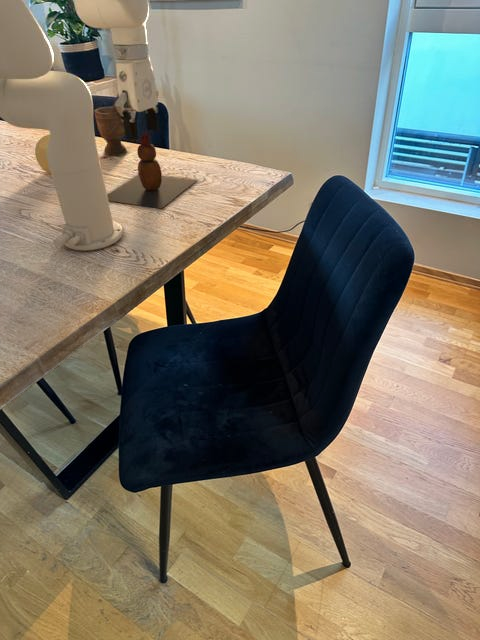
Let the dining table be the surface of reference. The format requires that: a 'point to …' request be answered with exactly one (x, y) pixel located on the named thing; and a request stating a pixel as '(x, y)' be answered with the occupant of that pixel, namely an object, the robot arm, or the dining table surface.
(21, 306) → the dining table surface
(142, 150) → the wooden figurine
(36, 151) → the sculpture
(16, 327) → the dining table surface
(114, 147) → the mortar and pestle
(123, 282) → the dining table surface
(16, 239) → the dining table surface
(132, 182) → the mat
